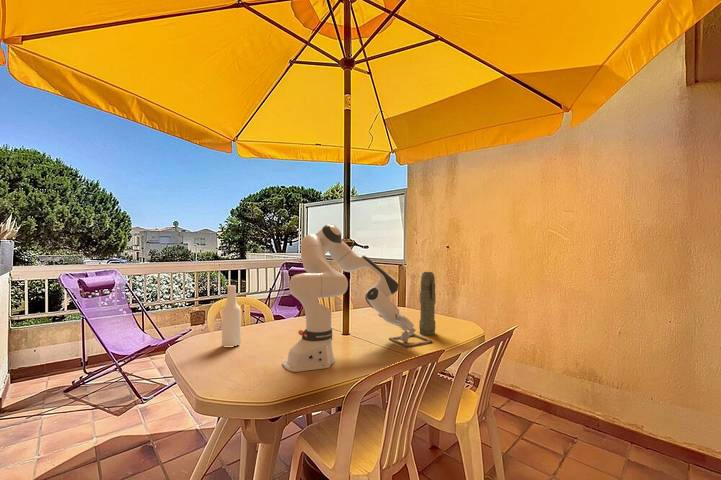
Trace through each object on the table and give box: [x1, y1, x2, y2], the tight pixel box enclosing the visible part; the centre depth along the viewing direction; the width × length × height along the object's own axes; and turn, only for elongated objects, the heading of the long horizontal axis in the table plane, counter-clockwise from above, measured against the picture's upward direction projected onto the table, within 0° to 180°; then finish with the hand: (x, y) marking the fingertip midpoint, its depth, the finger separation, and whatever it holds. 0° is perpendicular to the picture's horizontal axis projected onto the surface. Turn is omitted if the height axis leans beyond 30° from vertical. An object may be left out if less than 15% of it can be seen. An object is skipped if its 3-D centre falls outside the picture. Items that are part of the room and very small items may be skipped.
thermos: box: [418, 271, 437, 336], centre depth 197 cm, size 9×12×35 cm
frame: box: [388, 333, 433, 349], centre depth 181 cm, size 17×15×1 cm
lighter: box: [399, 327, 417, 343], centre depth 181 cm, size 7×2×8 cm, turn 123°
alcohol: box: [221, 284, 242, 347], centre depth 171 cm, size 9×9×30 cm
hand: (405, 329), depth 180 cm, fingers closed, pressing on lighter
